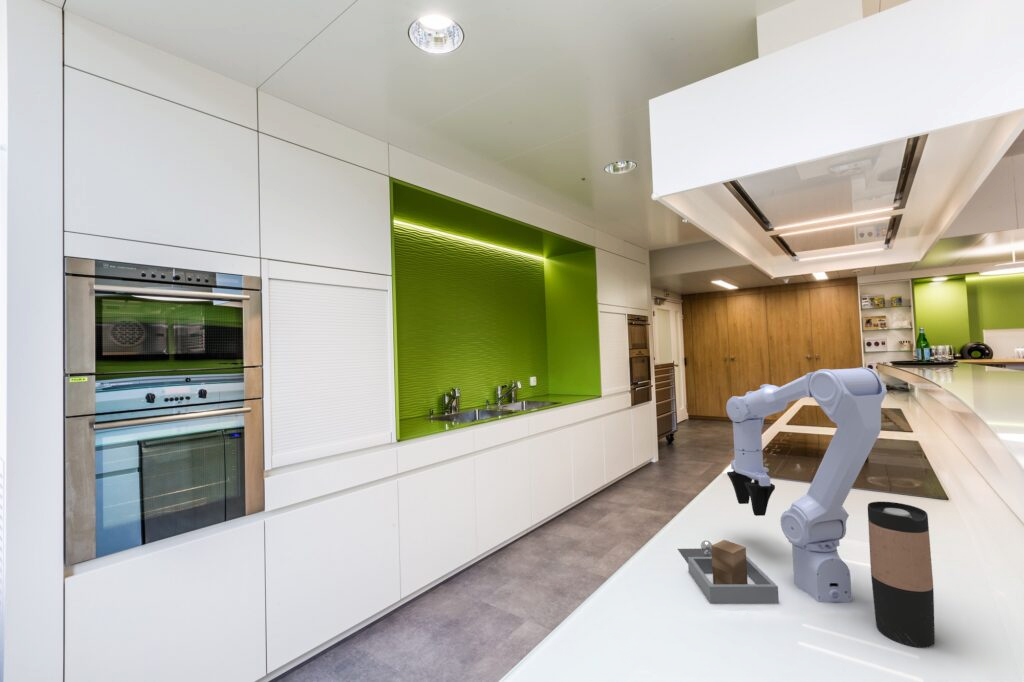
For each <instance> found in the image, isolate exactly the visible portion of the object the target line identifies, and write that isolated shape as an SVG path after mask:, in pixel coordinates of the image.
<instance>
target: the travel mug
mask: <svg viewBox="0 0 1024 682" xmlns="http://www.w3.org/2000/svg"><path fill="white" fill-rule="evenodd" d="M867 519H868V520H867V523H868V540H869V541H868V543H869V560H870V562H869V563H870V564H869V565H870V576H871V586H872V597H873V605H874V606H873V608H874V616H875V625H876V628H877V630H878V631H879V632H880V633H881V634H882V635H883V636H885V638H886V637H887V638H888V639H890V640H892V641H894V642H897V643H899V644H902V645H905V646H908V647H913V648H922V649H925V648H930V647H933V646H934V645H935V639H936V637H935V636H936V635H935V633H936V632H935V629H936V628H935V600H934V599H935V597H934V596H935V595H934V592H935V591H934V580H933V579H934V577H933V566H932V556H931V554H932V551H931V542H930V529H929V528H930V527H929V516H928V513H927V511H925V510H924V509H923V508H921V507H917V506H914V505H909V504H906V503H905V504H904V503H902V502H901V503H900V502H894V501H893V502H892V501H871V502H869V503H867Z"/></svg>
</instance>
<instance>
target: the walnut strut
mask: <svg viewBox="0 0 1024 682" xmlns="http://www.w3.org/2000/svg"><path fill="white" fill-rule="evenodd" d="M746 548H747V547H746V546H745V545H741V544H738V543H735V542H732V541H730V540H727V539H722V540H720V541H717V542H716V543H714V544H713V543H712V545H711V549H712V569H713V574H712V582H713V583H712V584H749V583H748V575H747V562H746V557H747V549H746Z"/></svg>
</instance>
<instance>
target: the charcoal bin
mask: <svg viewBox="0 0 1024 682" xmlns="http://www.w3.org/2000/svg"><path fill="white" fill-rule="evenodd" d="M746 562H747V577H748V578H749V579H751V581H752V582H753V583H754V584H749V583H748V584H713V583H712V582H711V580H710V578H708V577H707V574H710V575H711V574H712V575H713V569H712V557H688V563H687V565H688V566H687V567H688V573H689V575H690V576H691V578H692V579H693V580H694V582H695V583H696V585H697V586H698V588H699V589H700V591H701V593H703V595H704V596H705V598H706V599H707V601H708V603H709V604H710V605H771V604H772V605H777V604H778V605H779V604H780V601H779V600H780V598H779V586H778V585H777V584H776V583H775V582H774V581H773V580H772V579H771V578H770V577H769V576H768V575H766V573H765V572H764V571H763V570H762V569H761V568H759V566H758V565H757V564H755V562H754V561H753V560H751V558H749V557H748V556H746Z"/></svg>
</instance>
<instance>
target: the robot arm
mask: <svg viewBox="0 0 1024 682" xmlns="http://www.w3.org/2000/svg"><path fill="white" fill-rule="evenodd" d="M887 393H888V390H887V388H886V386H885V384H884V382H883V380H882V379H881V377H880V375H879V374H878V373H877V372H876V371H875V370H873V369H871V368H870V367H867V366H866V367H865V366H864V367H863V366H862V367H861V366H859V367H855V368H841V369H840V368H837V369H828V368H822V369H818V370H816V371H813V372H807V373H806V374H805V375H802V376H801V377H798V378H796V379H794V380H792V381H790V382H788V383H786V384H784V385H782V386H778V385H773V384H769V383H765V384H764V383H763V384H761V385H760V386H759V389H757V390H755V391H747V392H746V393H745V394H744V395H742V396H737V395H736V396H735V395H734V396H731V397H730V398H728V400H727V401H726V405H725V406H726V407H725V409H726V413H727V417H728V418H729V419H730V420H731V421H732V431H733V447H734V448H733V450H734V452H733V453H734V460H731V461H730V465H731V466H730V467H731V470H732V471H727V473H726V474H727V477H728V478H729V479H730V482H731V484H732V487H733V489H734V493H735V496H736V501H737V503H738V504H739V505H749V503H750V502H751V503H750V504H751V508H752V511H753V515H754V516H756V517H757V516H758V517H759V516H762V517H763V516H764V517H765V516H766V513H767V508H768V504H769V501H770V499H771V495H772V494H773V492H774V491H775V490H776V489H775V488H776V485H775V484H773V483H771V477H770V476H769V475H768V474H767V473H769V472H770V469H769V468H768V467H766V466H764V455H763V454H764V453H763V439H762V438H763V436H762V435H763V434H762V429H763V427H764V420H765V419H766V417H768V416H771V415H773V414H778V413H780V412H783V411H785V410H786V409H787V407H788V403H791V402H794V401H797V400H801V399H804V398H813V399H814V401H815V402H816V403H817V405H818V406H819V407H820V408H821V410H822V411H823V412H824V413H825V415H826V416H827V417H828V418H829V420H830V421H831V422H833V423H835V425H836V429H835V432H834V434H833V436H832V438H831V441H830V443H829V445H828V447H827V449H826V450H825V453H824V455H823V458H822V460H821V462H820V465H819V466H818V469H817V471H816V473H815V476H813V480H812V481H811V484H810V486H809V488H808V491H807V492H806V494H805V495H803V496H801V497H800V498H798V499H797V500H795V501H794V502H793V503H792V504H791V506H790V508H789V509H787V510H785V511H784V512H783V513H782V514H781V516H780V520H779V521H780V526H781V527H780V528H781V531H782V533H783V535H784V536H785V538H786V539H787V541H788V542H789V543H790V544H791V550H792V551H791V553H792V571H793V583H794V585H795V586H796V588H798V589H799V590H802V591H803V592H805V593H807V594H808V595H809V597H811V598H812V599H813V600H815V601H816V602H817V603H853V600H852V599H853V598H852V597H853V596H852V585H851V584H852V583H851V582H852V581H851V572H850V571H851V570H850V568H849V566H848V565H847V563H846V562H844V560H843V559H842V558H841V557H840V555H839V552H838V549H837V548H838V547H840V545H841V544H840V541H841V540H843V539H844V537H845V536H846V534H847V520H848V518H849V516H850V515H849V513H848V512H847V510H846V508H844V506H843V505H844V503H845V502H846V500H847V497H848V496H849V494H850V492H851V490H852V488H853V486H854V483H856V480H857V478H858V477H859V474H860V472H861V471H862V469H863V467H864V464H865V462H866V460H867V458H868V456H869V455H870V453H871V451H872V450H873V449H872V448H873V447H874V445H875V443H876V441H877V440H878V438H879V436H880V433H881V430H882V403H883V401H884V399H885V397H886V395H887Z"/></svg>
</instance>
